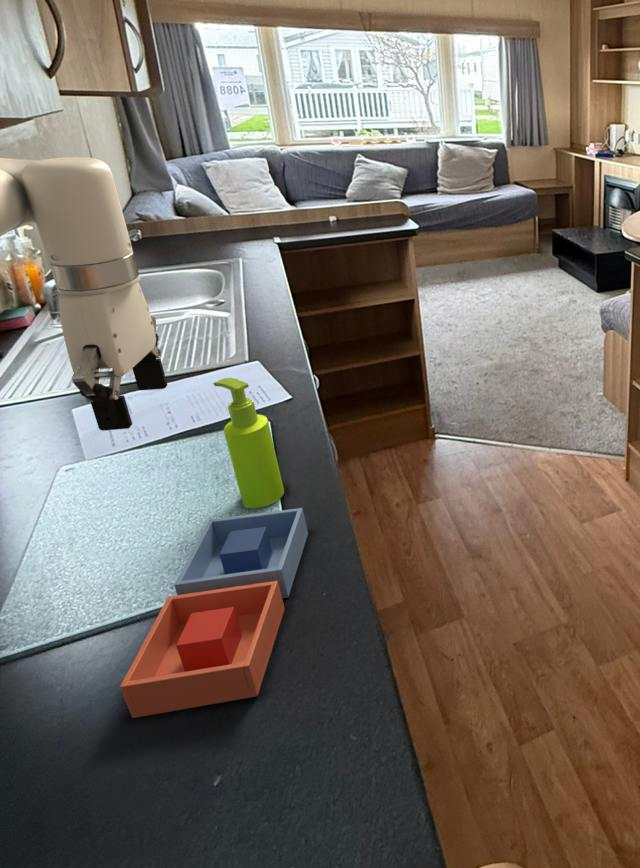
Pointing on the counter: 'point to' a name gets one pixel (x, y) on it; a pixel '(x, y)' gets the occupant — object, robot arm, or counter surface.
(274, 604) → the red bin
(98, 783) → the counter surface
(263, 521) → the blue bin
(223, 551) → the blue block
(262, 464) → the soap dispenser
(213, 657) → the red block
